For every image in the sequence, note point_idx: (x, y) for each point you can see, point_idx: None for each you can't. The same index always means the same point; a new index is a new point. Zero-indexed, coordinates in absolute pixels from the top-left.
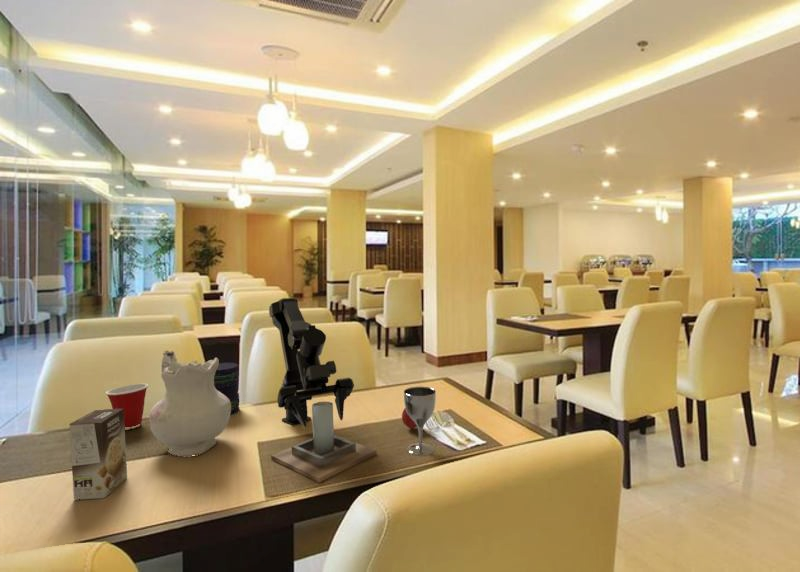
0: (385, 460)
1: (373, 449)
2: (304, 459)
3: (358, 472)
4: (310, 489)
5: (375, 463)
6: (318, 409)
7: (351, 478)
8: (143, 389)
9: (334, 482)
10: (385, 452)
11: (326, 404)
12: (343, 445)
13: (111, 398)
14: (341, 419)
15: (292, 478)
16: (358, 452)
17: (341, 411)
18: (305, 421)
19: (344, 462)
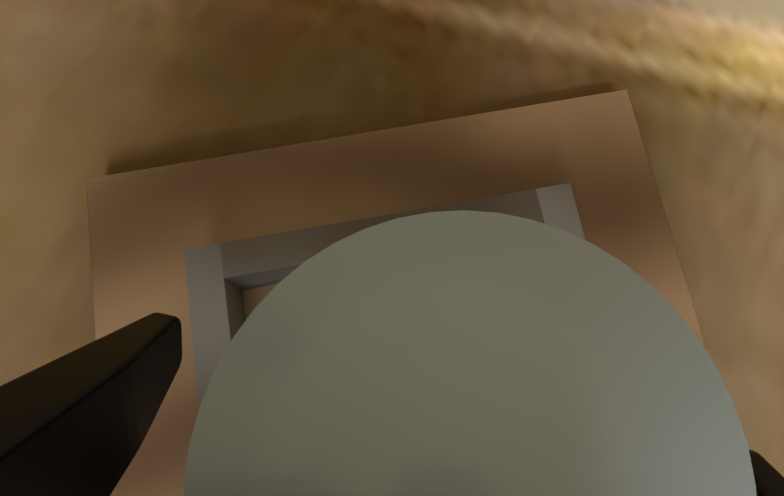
0: (124, 76)
1: (90, 199)
2: None
3: (356, 58)
4: (686, 70)
5: (200, 84)
6: (657, 312)
7: (431, 27)
8: None
9: (536, 50)
10: (35, 168)
11: (371, 431)
12: None
13: None
14: (178, 331)
15: (735, 259)
16: (205, 233)
17: (95, 363)
18: (756, 482)
19: (381, 162)
